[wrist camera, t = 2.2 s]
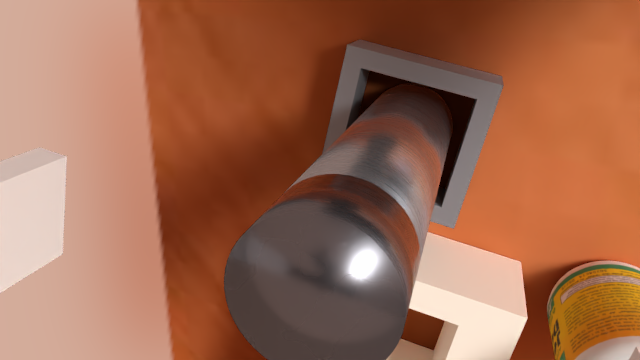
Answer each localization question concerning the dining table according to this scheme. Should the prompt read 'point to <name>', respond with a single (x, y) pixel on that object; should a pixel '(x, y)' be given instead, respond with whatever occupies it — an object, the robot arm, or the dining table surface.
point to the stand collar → (428, 73)
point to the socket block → (467, 302)
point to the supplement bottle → (596, 312)
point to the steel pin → (345, 238)
